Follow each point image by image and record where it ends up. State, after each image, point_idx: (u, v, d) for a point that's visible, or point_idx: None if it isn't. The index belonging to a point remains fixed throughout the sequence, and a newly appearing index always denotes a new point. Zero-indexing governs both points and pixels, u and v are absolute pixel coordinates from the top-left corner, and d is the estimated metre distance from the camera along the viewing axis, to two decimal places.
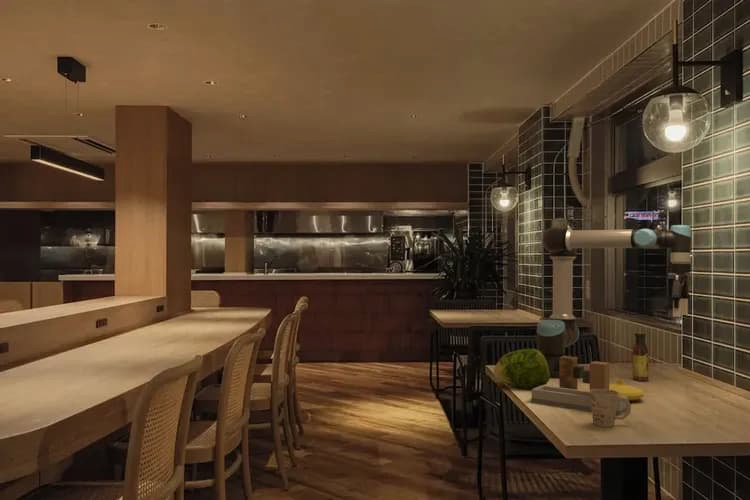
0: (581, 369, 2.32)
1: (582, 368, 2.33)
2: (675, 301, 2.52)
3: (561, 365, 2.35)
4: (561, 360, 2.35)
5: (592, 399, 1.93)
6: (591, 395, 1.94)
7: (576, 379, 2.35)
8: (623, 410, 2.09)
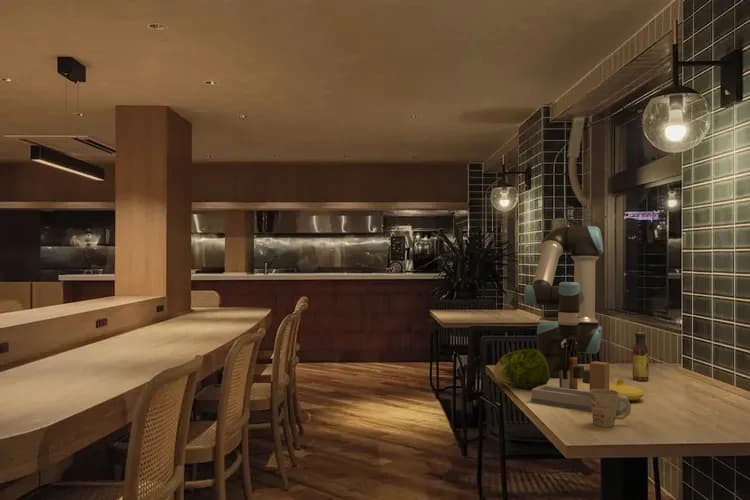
0: (581, 369, 2.32)
1: (582, 368, 2.33)
2: (563, 371, 2.32)
3: None
4: None
5: (592, 399, 1.93)
6: (591, 395, 1.94)
7: (576, 379, 2.35)
8: (623, 410, 2.09)
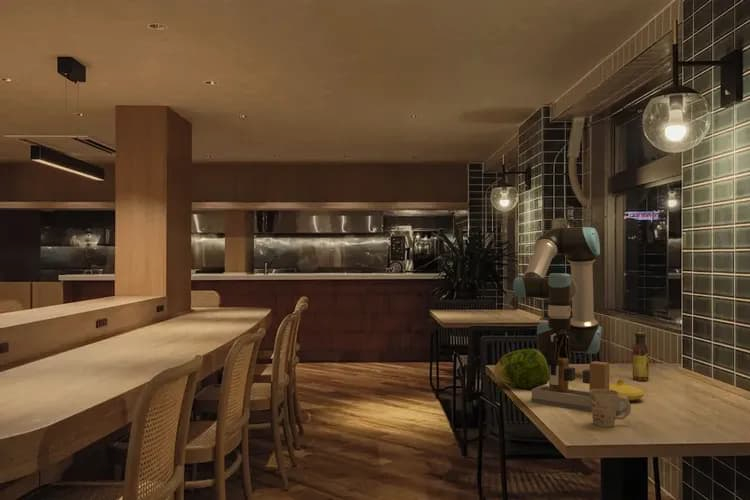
0: (572, 371, 2.19)
1: (573, 370, 2.20)
2: (552, 367, 2.18)
3: None
4: None
5: (592, 399, 1.93)
6: (591, 395, 1.94)
7: (567, 381, 2.22)
8: (623, 410, 2.09)
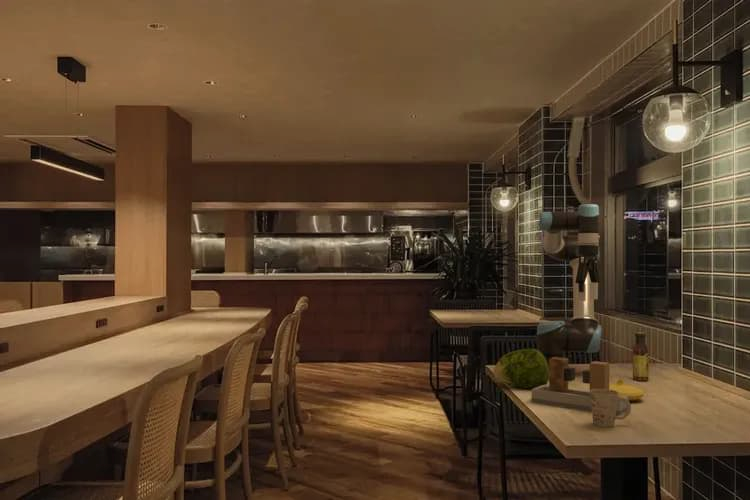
0: (572, 371, 2.19)
1: (573, 370, 2.20)
2: (580, 284, 2.38)
3: (551, 367, 2.22)
4: (551, 361, 2.22)
5: (592, 399, 1.93)
6: (591, 395, 1.94)
7: (567, 381, 2.22)
8: (623, 410, 2.09)
